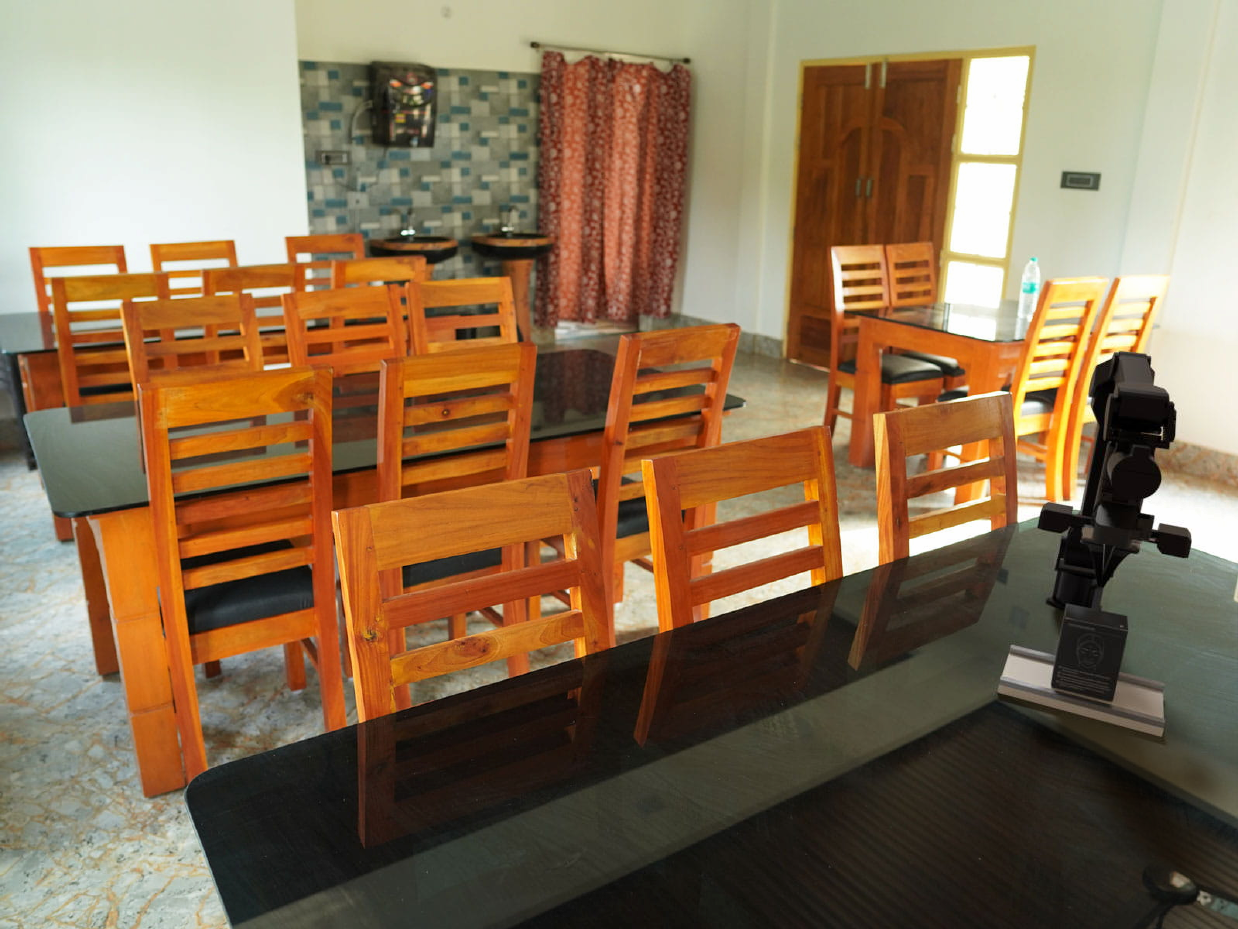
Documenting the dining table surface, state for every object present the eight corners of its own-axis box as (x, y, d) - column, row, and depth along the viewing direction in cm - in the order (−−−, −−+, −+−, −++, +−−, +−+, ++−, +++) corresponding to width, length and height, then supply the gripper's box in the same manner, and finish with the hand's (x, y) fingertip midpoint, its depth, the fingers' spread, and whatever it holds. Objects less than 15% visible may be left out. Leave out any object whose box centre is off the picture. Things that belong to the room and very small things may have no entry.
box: (1112, 685, 137) (1128, 615, 134) (1112, 703, 132) (1129, 631, 129) (1051, 670, 141) (1065, 601, 138) (1049, 687, 136) (1064, 616, 133)
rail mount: (997, 692, 136) (1000, 679, 135) (1008, 657, 146) (1011, 644, 146) (1161, 737, 127) (1165, 723, 127) (1161, 695, 138) (1164, 682, 137)
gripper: (1044, 480, 132) (1023, 589, 136) (1204, 509, 124) (1176, 624, 129) (1051, 462, 142) (1031, 564, 146) (1200, 488, 134) (1174, 595, 138)
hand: (1100, 586), depth 139 cm, fingers closed
